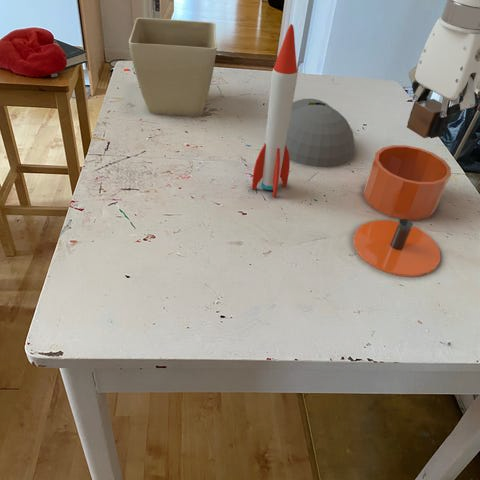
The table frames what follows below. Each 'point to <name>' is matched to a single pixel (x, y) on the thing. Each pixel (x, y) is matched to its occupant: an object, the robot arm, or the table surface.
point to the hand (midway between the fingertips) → (425, 128)
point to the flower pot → (173, 64)
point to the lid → (396, 248)
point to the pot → (406, 182)
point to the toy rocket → (278, 120)
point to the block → (424, 116)
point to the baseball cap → (318, 135)
